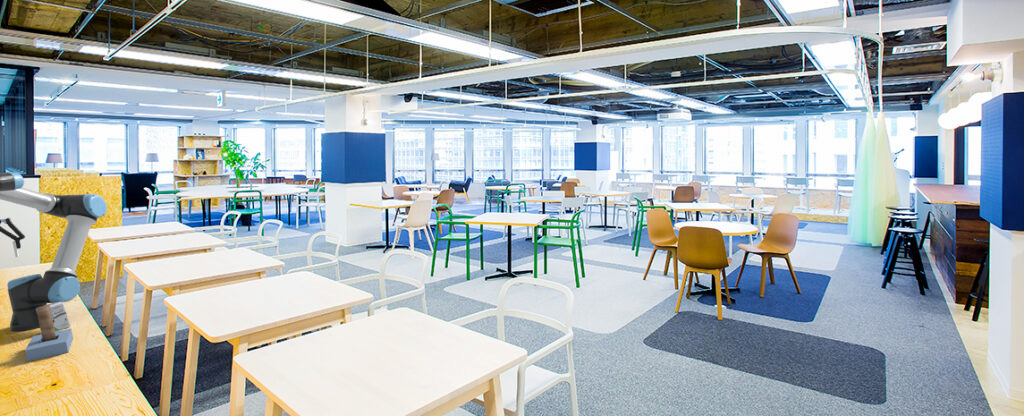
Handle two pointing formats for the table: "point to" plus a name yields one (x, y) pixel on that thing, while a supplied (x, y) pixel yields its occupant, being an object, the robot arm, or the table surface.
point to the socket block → (49, 345)
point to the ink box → (59, 316)
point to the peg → (46, 323)
